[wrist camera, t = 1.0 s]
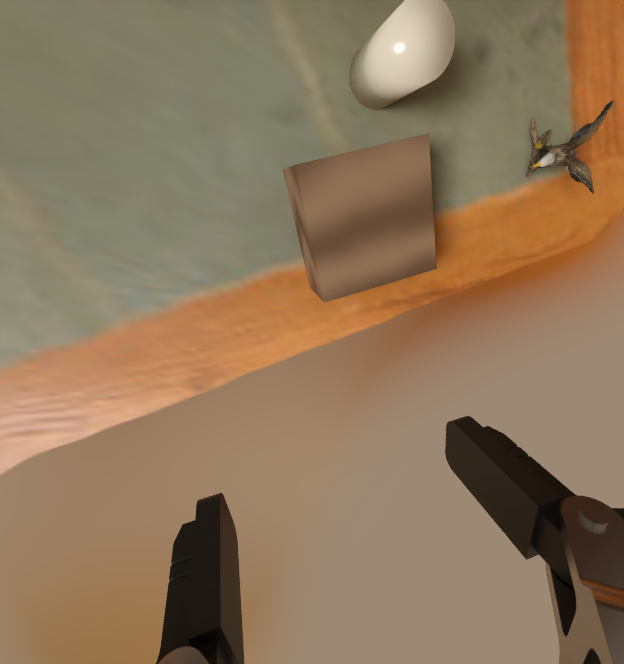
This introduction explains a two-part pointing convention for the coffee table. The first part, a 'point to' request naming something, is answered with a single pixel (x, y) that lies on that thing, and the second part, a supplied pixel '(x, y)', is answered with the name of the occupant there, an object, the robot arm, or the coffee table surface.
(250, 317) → the coffee table surface
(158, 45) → the coffee table surface
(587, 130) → the eagle figurine
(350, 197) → the walnut block
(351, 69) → the ceramic capsule
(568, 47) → the coffee table surface
